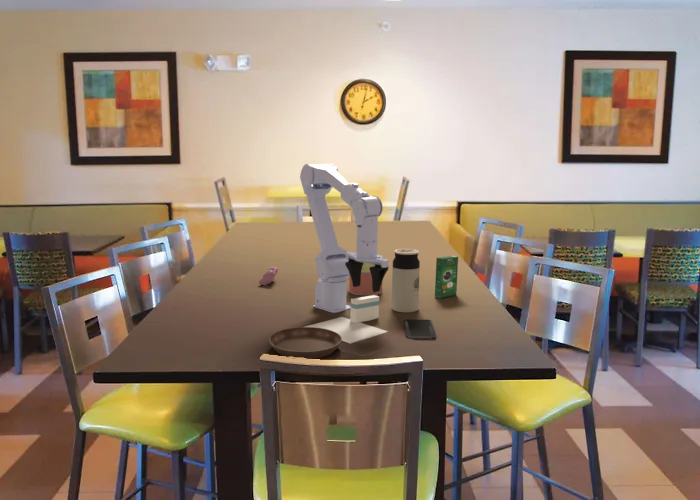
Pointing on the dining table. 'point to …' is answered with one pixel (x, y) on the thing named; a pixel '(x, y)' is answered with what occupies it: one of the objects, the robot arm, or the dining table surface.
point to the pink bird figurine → (269, 276)
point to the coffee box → (446, 276)
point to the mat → (349, 329)
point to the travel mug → (405, 280)
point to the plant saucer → (305, 342)
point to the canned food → (364, 282)
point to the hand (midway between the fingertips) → (366, 288)
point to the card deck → (364, 309)
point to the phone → (419, 329)
